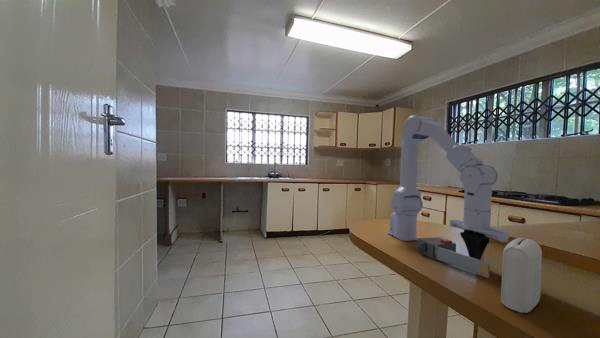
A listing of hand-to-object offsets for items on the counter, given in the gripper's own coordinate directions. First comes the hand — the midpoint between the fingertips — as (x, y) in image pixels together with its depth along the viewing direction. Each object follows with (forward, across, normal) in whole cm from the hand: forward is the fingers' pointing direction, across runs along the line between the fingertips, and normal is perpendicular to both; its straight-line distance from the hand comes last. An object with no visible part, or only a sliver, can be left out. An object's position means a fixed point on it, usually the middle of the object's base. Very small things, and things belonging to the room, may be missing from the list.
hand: (474, 260), depth 61 cm
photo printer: (+2, +16, -8) cm, 18 cm away
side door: (+1, +1, -6) cm, 7 cm away
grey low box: (+1, -8, -4) cm, 10 cm away
